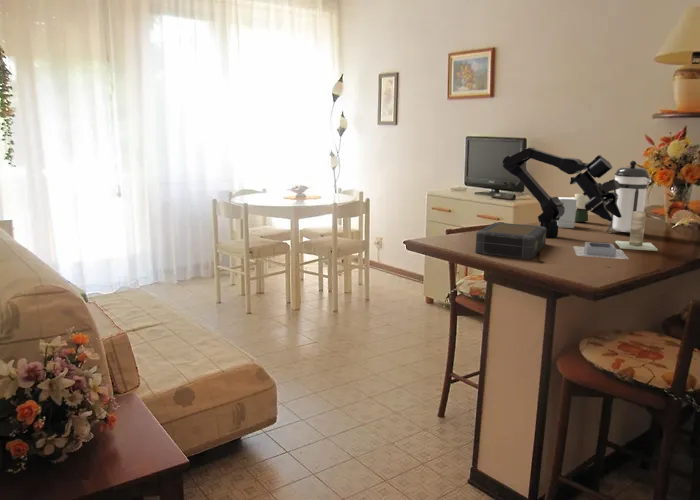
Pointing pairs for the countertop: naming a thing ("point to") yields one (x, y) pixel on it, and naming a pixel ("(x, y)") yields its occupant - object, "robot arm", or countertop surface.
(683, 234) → the countertop surface
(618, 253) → the grey square socket base
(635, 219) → the ash peg
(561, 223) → the supplement box
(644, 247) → the green pad
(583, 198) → the character mug
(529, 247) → the cash box
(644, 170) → the coffee press
